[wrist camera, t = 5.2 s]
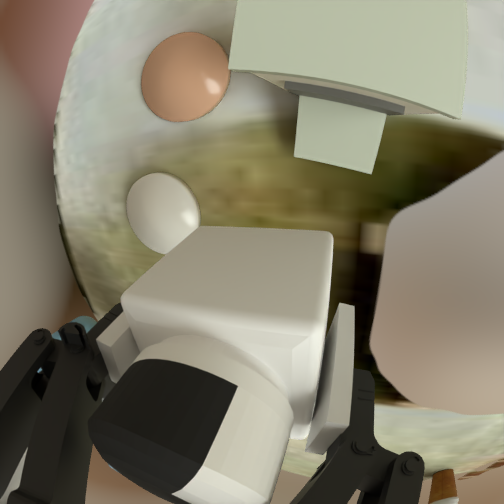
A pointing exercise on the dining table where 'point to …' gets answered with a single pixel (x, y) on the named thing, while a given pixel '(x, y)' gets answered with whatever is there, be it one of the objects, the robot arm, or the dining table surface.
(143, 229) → the white domed round part
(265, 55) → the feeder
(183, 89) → the peach round disc
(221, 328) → the medicine bottle
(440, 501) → the disposable coffee cup
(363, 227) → the dining table surface
